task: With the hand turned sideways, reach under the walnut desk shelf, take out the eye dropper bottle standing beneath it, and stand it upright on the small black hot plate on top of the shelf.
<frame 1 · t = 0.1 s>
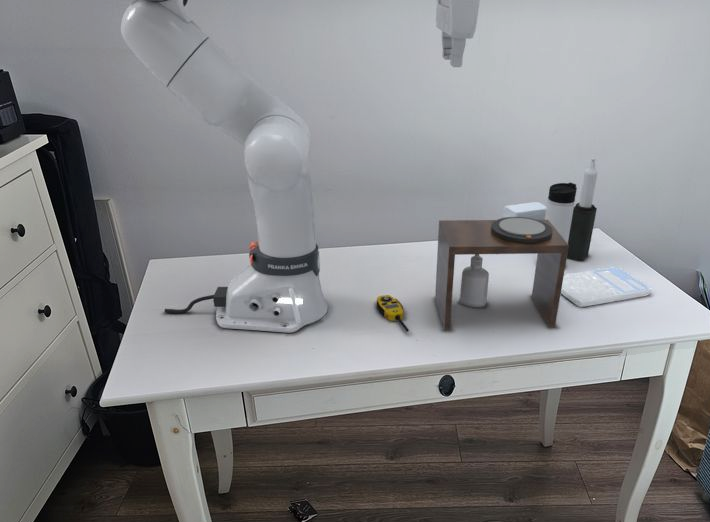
hand: (451, 62, 107), 48 cm above the table, tool pointing down, fingers open, 8 cm apart
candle: (576, 256, 159), on the table
hot plate: (521, 232, 122), resting on desk shelf
eye dropper bottle: (472, 304, 135), on the table
yellow walkie talkie: (394, 318, 128), on the table
calculator: (598, 289, 143), on the table
cosmetics box: (522, 245, 164), on the table
desk shelf: (492, 312, 131), on the table
travel mug: (551, 265, 154), on the table
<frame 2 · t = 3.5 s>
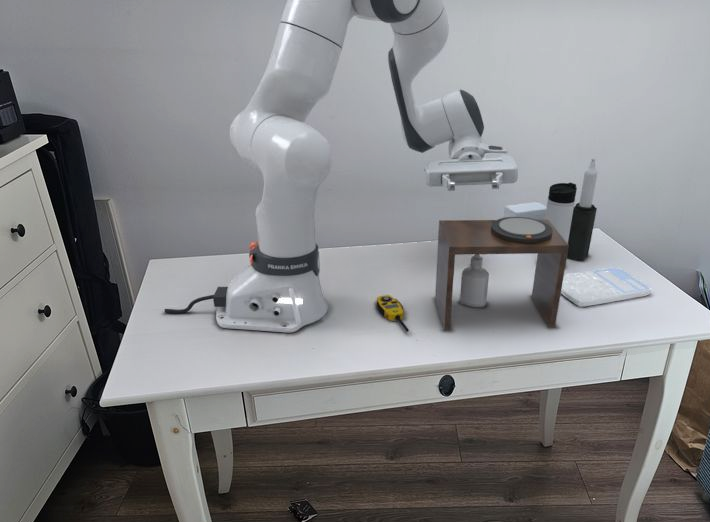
hand: (473, 186, 131), 23 cm above the table, tool horizontal, fingers open, 8 cm apart
nothing on the table moved.
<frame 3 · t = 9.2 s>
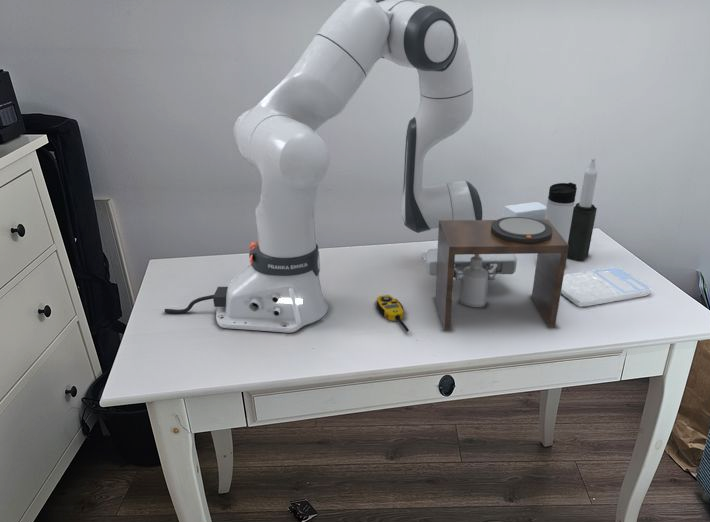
hand: (476, 277, 130), 7 cm above the table, tool horizontal, fingers closed on eye dropper bottle, 5 cm apart
eye dropper bottle: (472, 303, 135), on the table, touching gripper
everything else where it was.
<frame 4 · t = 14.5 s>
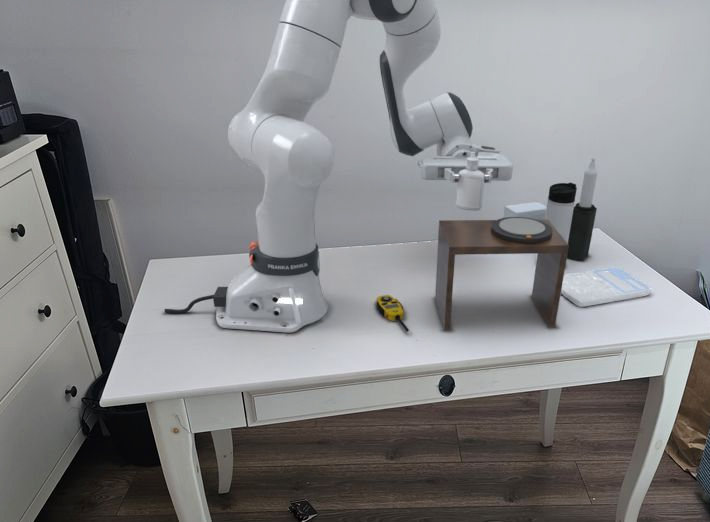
hand: (472, 179, 131), 24 cm above the table, tool horizontal, fingers closed on eye dropper bottle, 5 cm apart
eye dropper bottle: (468, 208, 135), point 17 cm above the table, touching gripper
everything else where it was.
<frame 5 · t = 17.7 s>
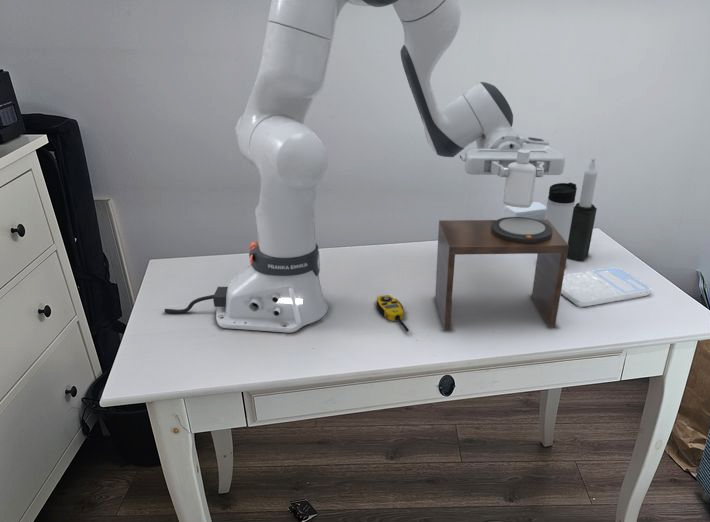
hand: (522, 173, 120), 29 cm above the table, tool horizontal, fingers closed on eye dropper bottle, 5 cm apart
eye dropper bottle: (517, 205, 124), point 22 cm above the table, touching gripper
everything else where it was.
when the fingers open (26 cm above the table, at t = 20.2 s): eye dropper bottle stays where it is, resting on hot plate.
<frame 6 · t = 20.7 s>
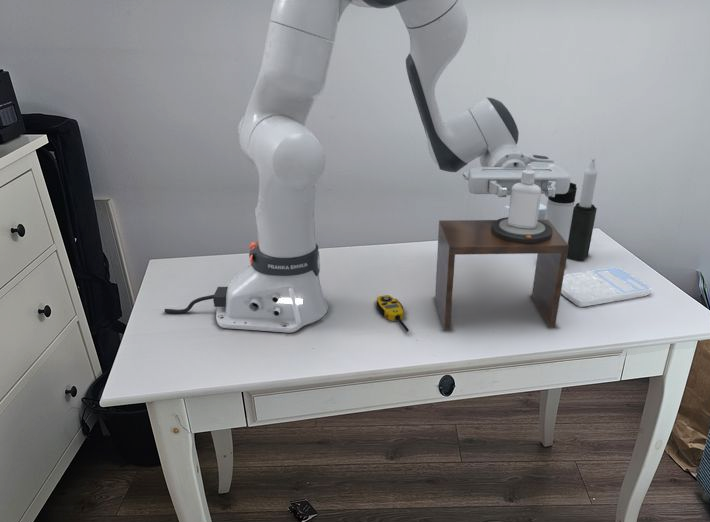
hand: (527, 193, 117), 26 cm above the table, tool horizontal, fingers open, 8 cm apart
eye dropper bottle: (521, 226, 122), point 19 cm above the table, touching hot plate
everything else where it was.
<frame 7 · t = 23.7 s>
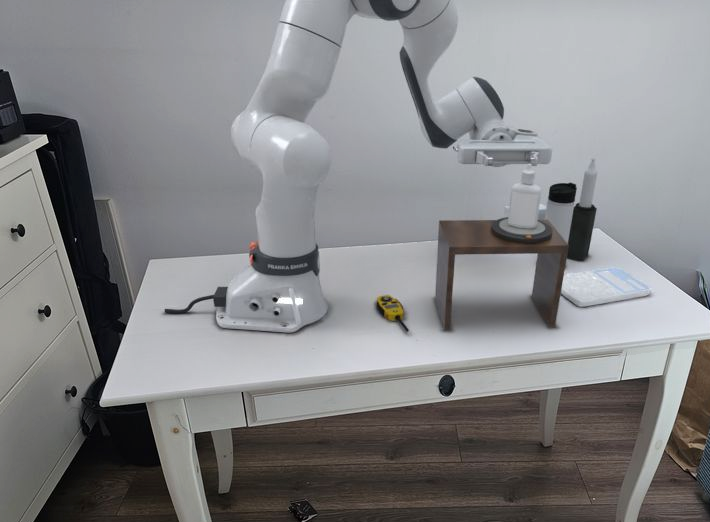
hand: (511, 162, 127), 28 cm above the table, tool horizontal, fingers open, 8 cm apart
nothing on the table moved.
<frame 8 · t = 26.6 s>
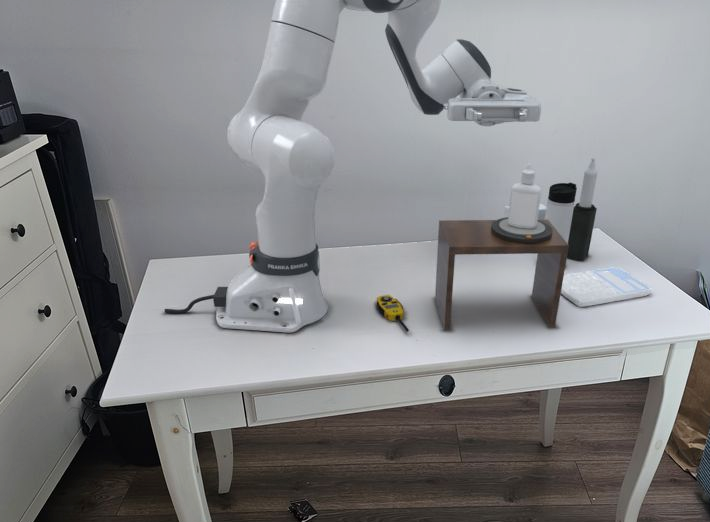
hand: (500, 117, 128), 36 cm above the table, tool horizontal, fingers open, 8 cm apart
nothing on the table moved.
at the end: eye dropper bottle inside the target area on the hot plate (0.1 cm from its centre), point 1.1 cm above the hot plate's base; eye dropper bottle tilted 0°; the gripper is holding nothing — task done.
